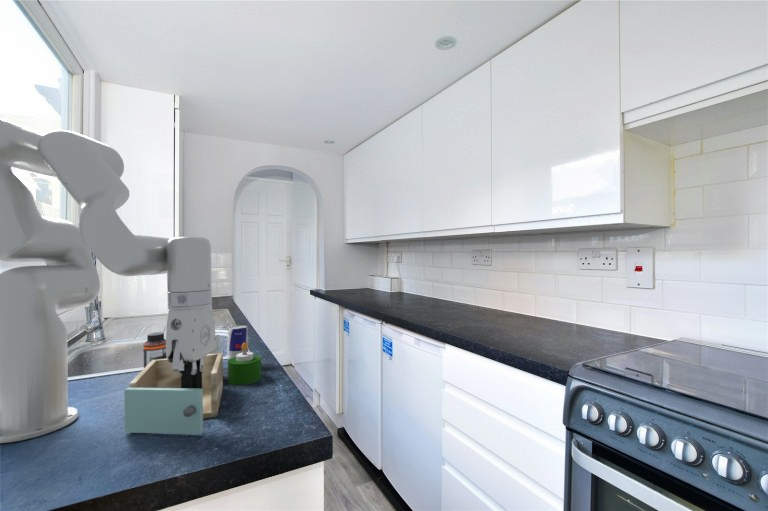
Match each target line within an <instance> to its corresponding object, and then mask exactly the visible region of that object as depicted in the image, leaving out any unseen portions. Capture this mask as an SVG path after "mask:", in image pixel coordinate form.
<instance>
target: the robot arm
mask: <svg viewBox="0 0 768 511" xmlns="http://www.w3.org/2000/svg"><path fill="white" fill-rule="evenodd" d="M12 168H14V169H15V168H16V169H20V170H23V171H28V172H32V173H36V174H40V175H45V176H49V177H54V178H57V180H58V181H59V182H60V184H61V185H62V186H63V187H64V189H65V190H66V191H67V192H68V194H70V196H71V197H72V199H73V200H74V201H75V202H76V204H77V205H78V206H79V208H80V210H79V213H78V226H77V225H76V224H74V223H73V222H71V221H68V220H65V219H61V218H56V217H55V218H54V217H49V216H44V215H42V214H41V213H40V211H39V209H38V207H37V204H36V201H35V198H34V195H33V193H32V192H31V190H30V188H29V187H28V186H27V185H26V183H25V182H24V181H23V180H22V179H21V178H20V177H19V176H18V175H17V174H16V173H15V172H14V171H13V169H12ZM124 172H125V162H124V159H123V158H122V156H121V155H120V153H119V152H118V151H117V150H116V149H114V148H113V147H111V146H110V145H107V144H106V143H103V142H100V141H98V140H96V139H93V138H91V137H88V136H86V135H83V134H80V133H79V132H76V131H75V132H74V131H70V130H66V129H65V130H63V129H56V130H51V131H49V132H45V133H43V132H40V131H38V130H35V129H32V128H30V127H27V126H25V125H21V124H19V123H16V122H14V121H10V120H6V119H2V118H0V261H3V262H14V263H15V262H17V263H18V262H19V263H29V262H31V263H32V262H35V263H36V262H38V263H39V262H40V263H41V262H45V265H44V264H43V265H26V266H25V265H24V266H23V265H22V266H18V267H13V268H9V269H7V270H6V269H5V270H4V271H2V272H0V444H5V443H6V444H8V443H9V444H10V443H14V442H20V441H21V442H22V441H25V440H30V439H33V438H39V437H41V436H44V435H47V434H50V433H53V432H55V431H57V430H60V429H62V428H64V427H66V426H68V425H70V424H72V423H73V422H74V421H76V420H77V418H78V417H79V410H78V409H77V408H76V407H73V406H69V402H68V401H69V400H68V399H69V394H68V393H69V388H68V387H69V386H68V385H69V384H68V383H69V382H68V381H69V380H68V377H69V376H68V374H69V373H68V372H69V371H68V330H67V329H66V328H67V327H66V326H65V324H64V323H63V321H62V319H61V318H60V316H59V314H58V313H57V312H59V311H64V310H69V309H75V308H81V307H84V306H87V305H89V304H90V303H92V302H93V301H95V300H96V299H97V296H98V295H99V293H100V290H101V289H100V288H101V283H100V276H99V274H98V273H99V272H98V271H97V267H96V264H95V261H94V258H93V256H95V258H96V259H97V261H99V262H100V263H101V265H102V266H104V268H106V269H107V270H108V271H110V272H112V273H114V274H115V275H118V276H122V277H137V276H153V275H164V274H165V275H166V277H167V278H166V280H167V282H166V283H167V284H166V285H167V287H166V288H167V310H168V314H167V320H166V330H165V333H166V334H165V339H166V356H167V360H168V362H170V363H172V371H179V375H181V388H195V389H202V370H203V360H204V358H205V357H206V356H207V354H209V353H211V352H212V351H213V350H214V349H215V347H216V336H215V334H216V325H215V315H214V310H213V306H212V305H213V300H212V297H213V296H212V294H213V293H212V292H213V291H212V248H211V247H212V246H211V242H210V240H209V239H207V238H206V237H202V236H175V237H171V238H167V237H159V236H150V235H142V234H134V233H133V232H132V230H130V229H129V228H128V226H127V225H126V224H125V223H124V222H123V220H122V219H121V217H120V215H119V214H118V212H117V210H118V209H120V208H121V207H122V206H124V205H125V203H127V202H128V200H129V198H130V190H129V188H128V187H127V185H126V184H125V182H124V181H123V180H122V179H121V178H122V176H123V174H124ZM92 253H93V255H92Z"/></svg>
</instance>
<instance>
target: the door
mask: <svg viewBox="0 0 768 511" xmlns="http://www.w3.org/2000/svg"><path fill="white" fill-rule="evenodd" d="M203 432H204V419H203V389H195V388H131V387H126V388H125V389H124V433H129V434H130V433H131V434H132V433H136V434H168V435H169V434H173V435H175V434H176V435H177V434H178V435H201V434H202V433H203Z"/></svg>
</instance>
